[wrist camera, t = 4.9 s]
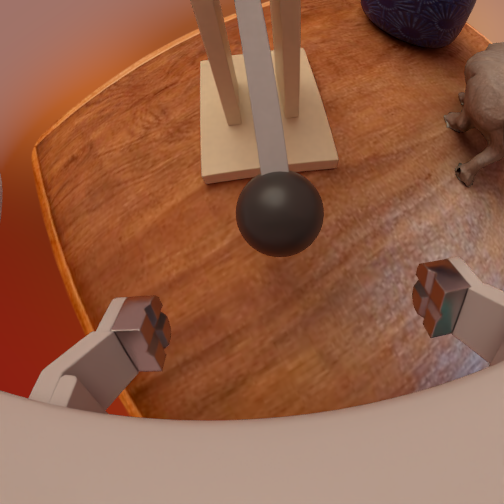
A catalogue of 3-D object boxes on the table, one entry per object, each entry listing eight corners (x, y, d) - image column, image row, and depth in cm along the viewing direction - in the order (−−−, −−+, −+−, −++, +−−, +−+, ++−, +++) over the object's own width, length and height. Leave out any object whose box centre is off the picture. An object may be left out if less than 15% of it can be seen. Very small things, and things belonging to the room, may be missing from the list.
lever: (319, 239, 15) (335, 262, 11) (245, 248, 15) (239, 274, 11) (270, -44, 10) (271, -82, 7) (205, -36, 10) (192, -72, 7)
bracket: (336, 168, 20) (383, -35, 5) (205, 184, 20) (104, -1, 6) (303, 57, 23) (302, -90, 8) (203, 70, 23) (155, -70, 9)
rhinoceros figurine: (392, 112, 18) (515, -17, 6) (430, 116, 26) (511, 35, 14) (463, 203, 16) (600, 80, 5) (475, 174, 25) (561, 95, 13)
